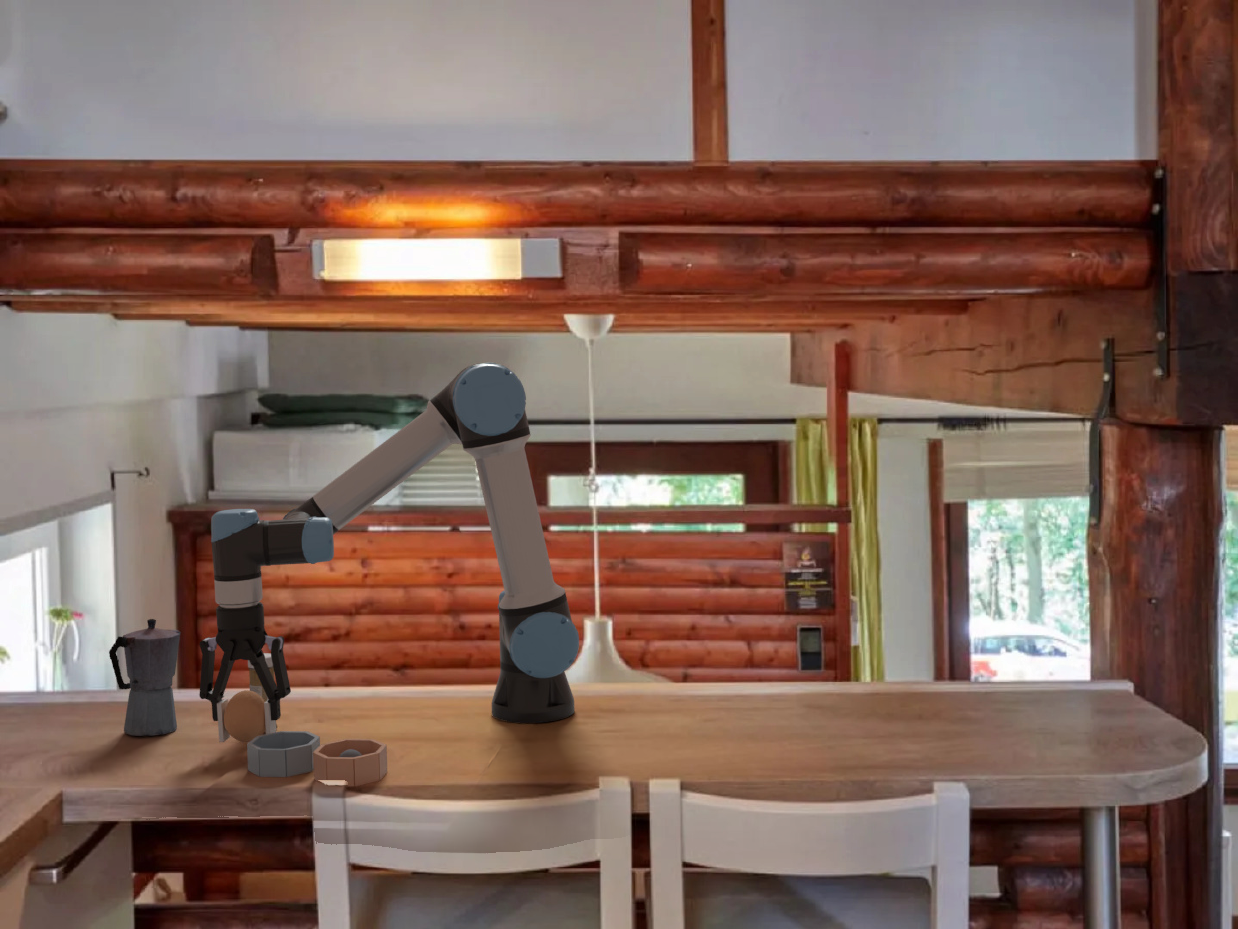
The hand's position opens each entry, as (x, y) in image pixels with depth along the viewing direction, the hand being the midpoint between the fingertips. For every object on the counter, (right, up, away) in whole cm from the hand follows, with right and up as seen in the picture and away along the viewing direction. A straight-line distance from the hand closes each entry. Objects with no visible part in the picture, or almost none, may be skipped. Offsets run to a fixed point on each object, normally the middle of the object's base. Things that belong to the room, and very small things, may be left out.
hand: (248, 739), depth 221 cm
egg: (0, -1, 0) cm, 1 cm away
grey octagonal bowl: (+9, -3, -10) cm, 13 cm away
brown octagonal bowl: (+20, -3, -15) cm, 25 cm away
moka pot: (-21, -2, +14) cm, 26 cm away
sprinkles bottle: (-1, -2, +14) cm, 14 cm away
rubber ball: (+20, -2, -15) cm, 25 cm away
